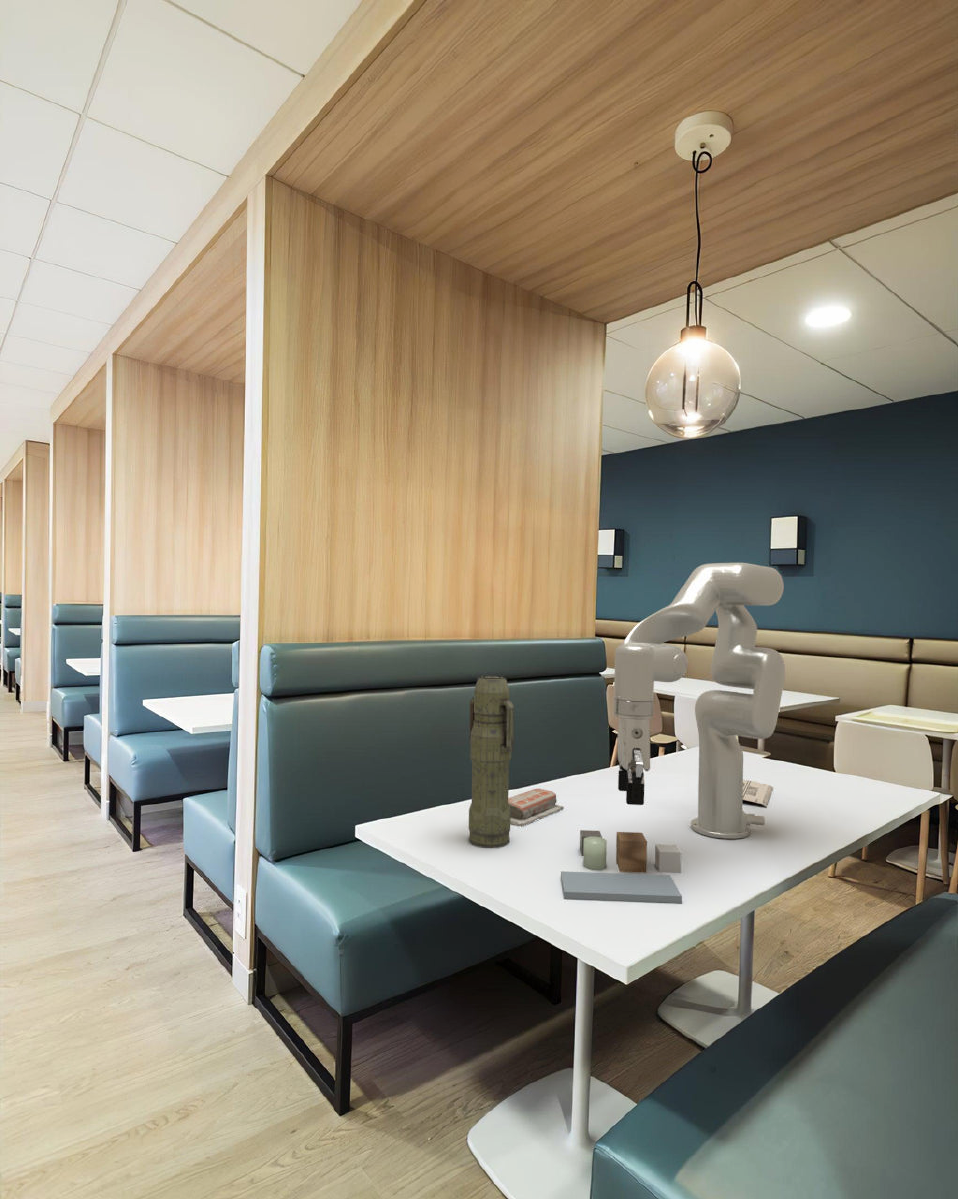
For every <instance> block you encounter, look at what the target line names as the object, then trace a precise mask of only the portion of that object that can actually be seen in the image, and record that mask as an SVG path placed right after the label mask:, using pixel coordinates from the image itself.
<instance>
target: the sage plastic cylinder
mask: <svg viewBox="0 0 958 1199" xmlns="http://www.w3.org/2000/svg"><path fill="white" fill-rule="evenodd" d="M607 841H608V840H607V839H605V838H604V837H602V838H601V837H594V836H592V837H586V838H584V851H583V856H582V857H583V858H582V859H583V861H582V864H583V865H582V866H583V867H584V869H587V870H590V871H603V870H605V869H607V850H608V849H607Z"/></svg>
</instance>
